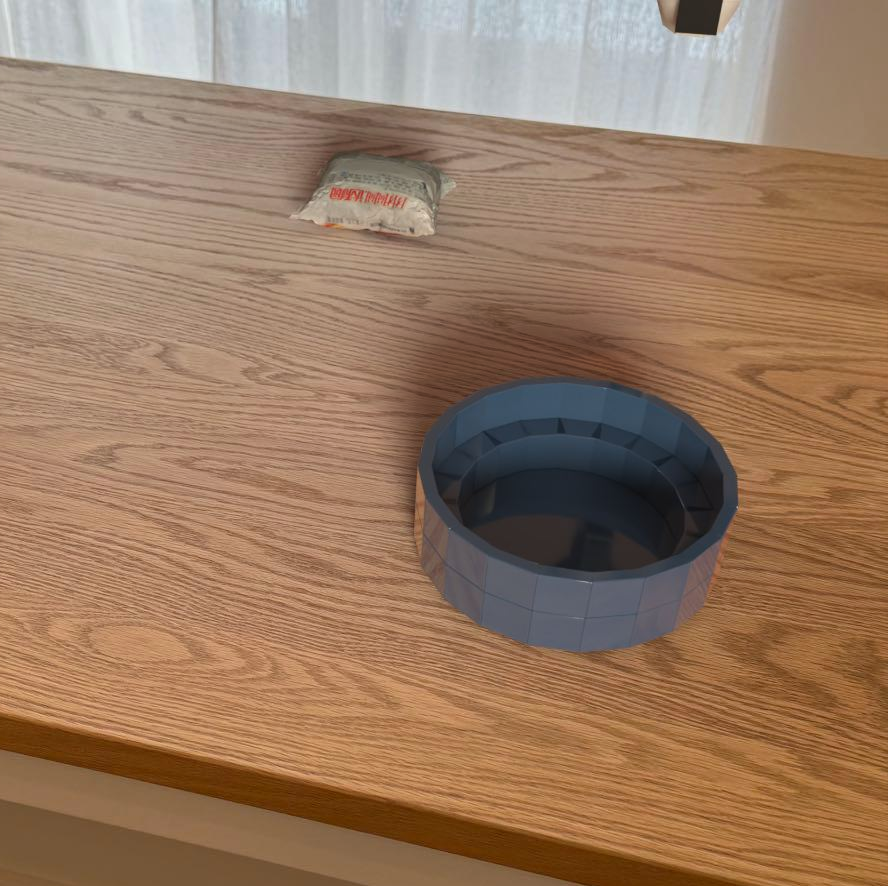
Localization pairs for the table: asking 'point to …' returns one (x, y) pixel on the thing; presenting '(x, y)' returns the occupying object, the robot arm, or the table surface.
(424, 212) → the packaged food
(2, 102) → the table surface
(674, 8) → the cream pestle
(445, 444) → the bowl
